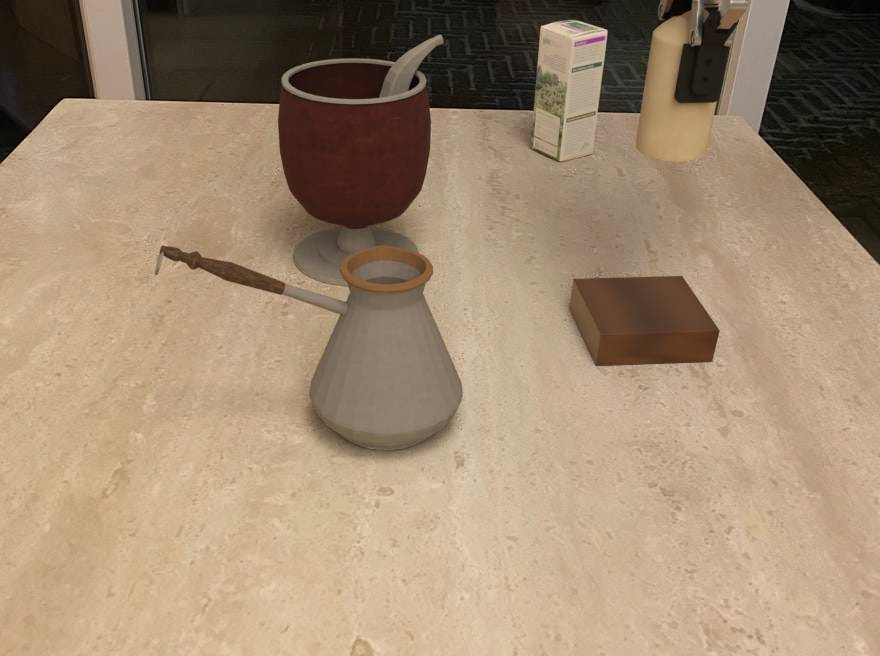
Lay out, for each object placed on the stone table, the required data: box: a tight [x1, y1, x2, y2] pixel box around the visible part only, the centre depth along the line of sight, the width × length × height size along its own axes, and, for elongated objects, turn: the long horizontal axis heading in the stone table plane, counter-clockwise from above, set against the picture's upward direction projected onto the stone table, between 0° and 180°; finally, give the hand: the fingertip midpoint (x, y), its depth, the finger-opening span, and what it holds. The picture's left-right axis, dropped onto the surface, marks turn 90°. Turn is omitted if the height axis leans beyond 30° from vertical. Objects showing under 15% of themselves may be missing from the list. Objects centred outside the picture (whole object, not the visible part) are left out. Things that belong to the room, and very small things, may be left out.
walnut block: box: [568, 275, 720, 367], centre depth 87 cm, size 10×10×3 cm
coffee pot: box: [154, 245, 464, 451], centre depth 71 cm, size 21×12×15 cm, turn 97°
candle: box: [635, 9, 718, 162], centre depth 76 cm, size 6×6×10 cm
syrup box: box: [530, 19, 609, 162], centre depth 119 cm, size 6×6×14 cm
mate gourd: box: [277, 34, 444, 287], centre depth 93 cm, size 16×14×20 cm
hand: (682, 85), depth 76 cm, fingers closed on candle, 5 cm apart
